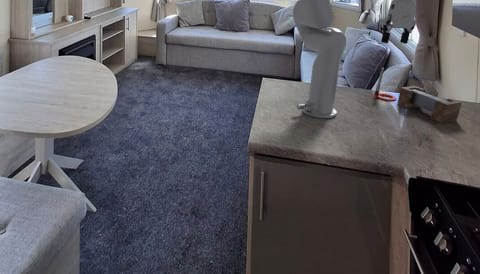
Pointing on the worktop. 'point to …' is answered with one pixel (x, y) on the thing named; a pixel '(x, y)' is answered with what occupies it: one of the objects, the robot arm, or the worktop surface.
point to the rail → (424, 100)
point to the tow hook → (378, 95)
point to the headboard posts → (441, 111)
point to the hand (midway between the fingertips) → (394, 42)
